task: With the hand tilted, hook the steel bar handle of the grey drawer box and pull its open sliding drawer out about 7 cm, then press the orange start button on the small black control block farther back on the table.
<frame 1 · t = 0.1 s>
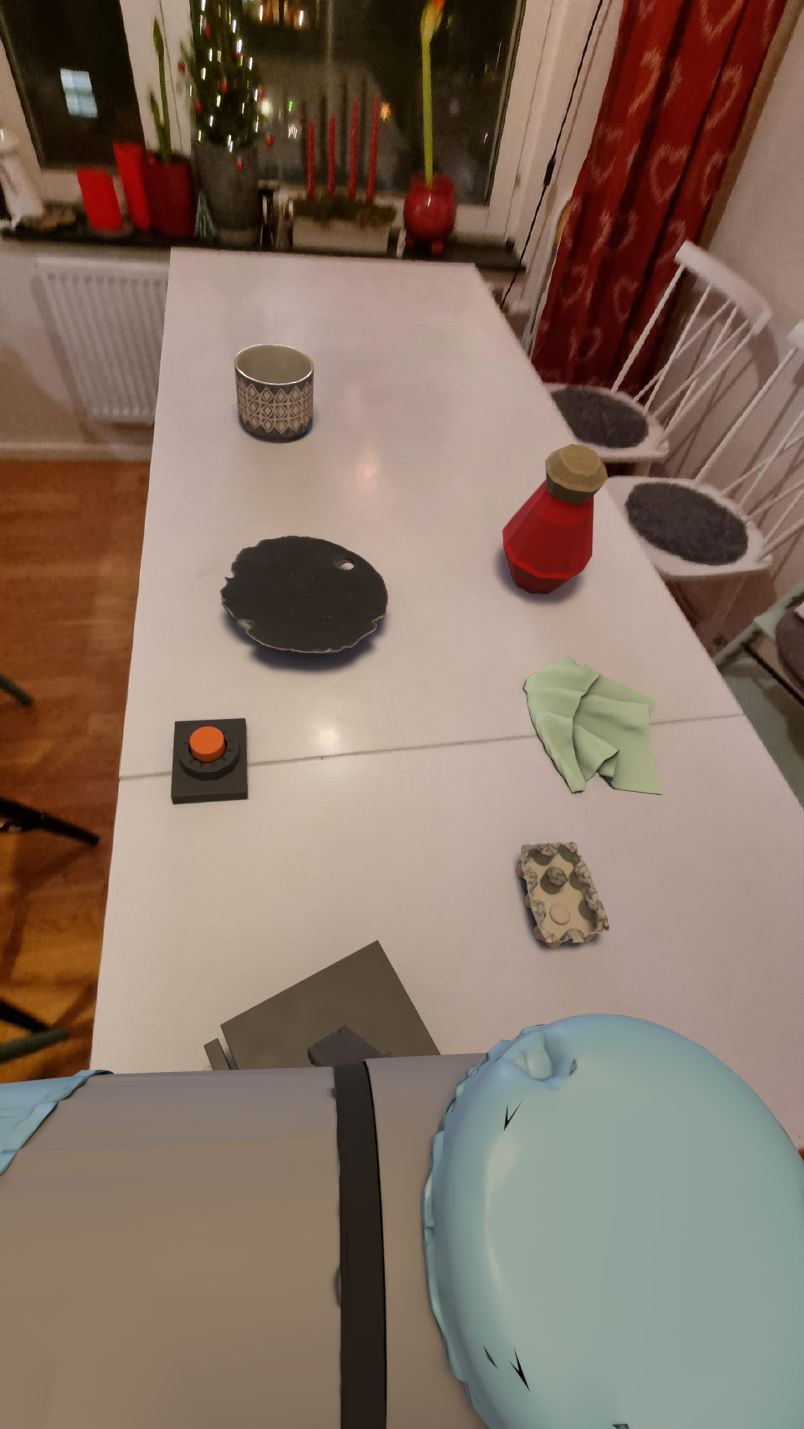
hand: (403, 1225, 41), 19 cm above the table, tool pointing down, fingers open, 13 cm apart
grey drawer box: (332, 1070, 63), on the table
egg carton: (552, 900, 75), on the table
planter: (276, 424, 121), on the table
bottle: (535, 574, 106), on the table
board: (305, 616, 95), on the table
cloth: (593, 731, 89), on the table
open sliding drawer: (275, 1096, 57), point 4 cm above the table, slide at 0.5 cm
control block: (211, 763, 80), on the table
start button: (207, 744, 76), point 4 cm above the table, slide at 0.1 cm
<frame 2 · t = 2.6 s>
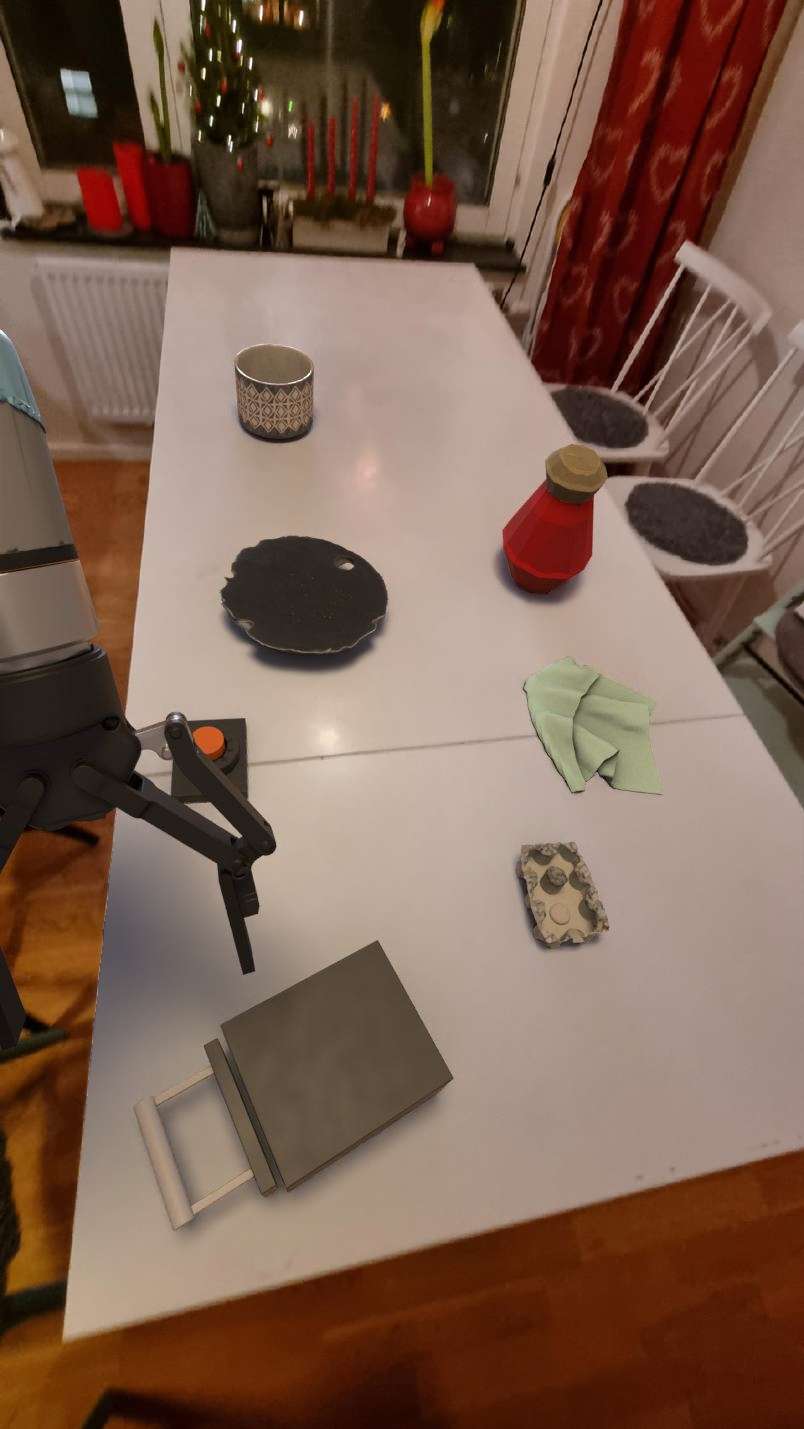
hand: (135, 995, 42), 24 cm above the table, tool tilted 40°, fingers open, 13 cm apart
nothing on the table moved.
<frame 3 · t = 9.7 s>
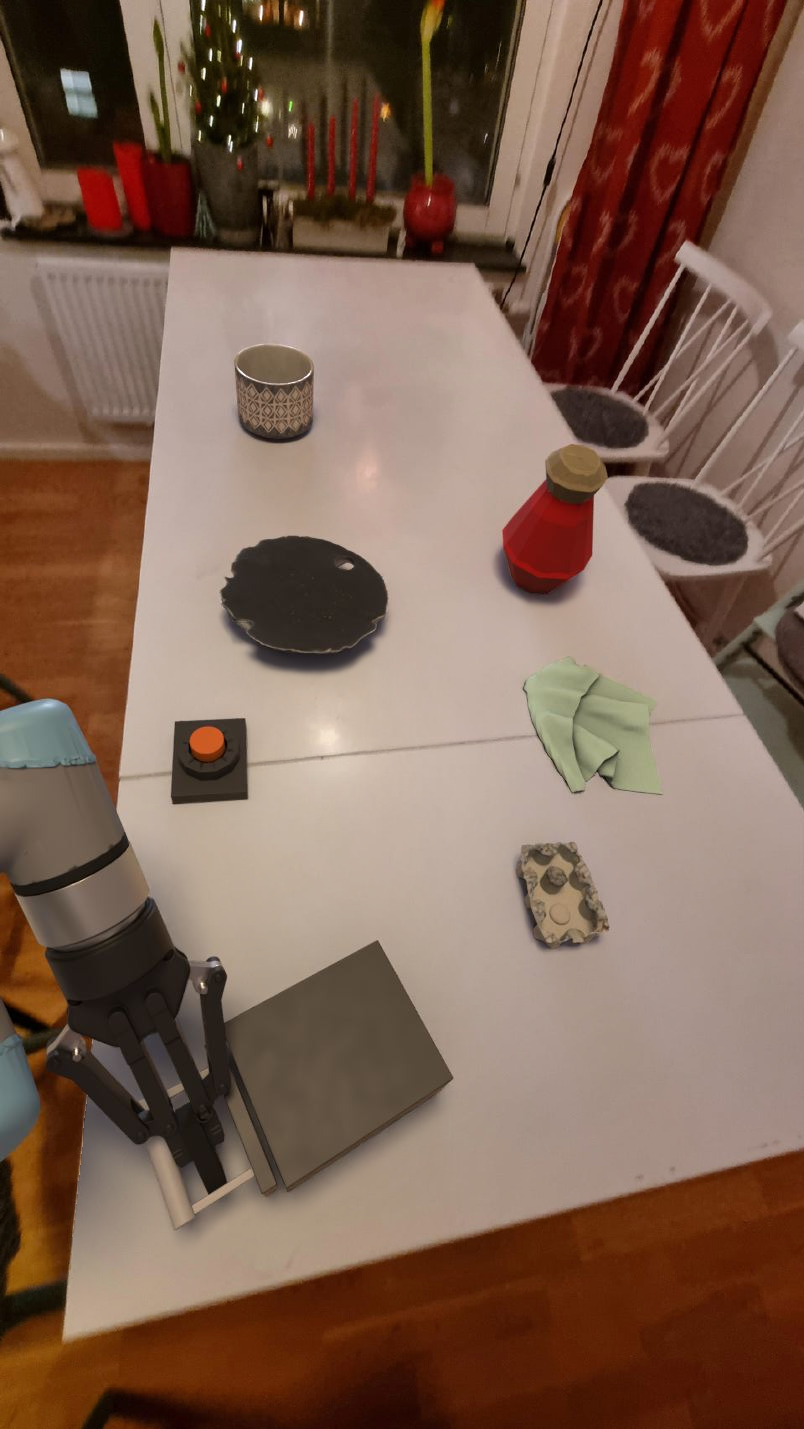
hand: (216, 1181, 53), 4 cm above the table, tool tilted 45°, fingers closed
open sliding drawer: (276, 1096, 57), point 4 cm above the table, slide at 0.4 cm, touching gripper
everything else where it was.
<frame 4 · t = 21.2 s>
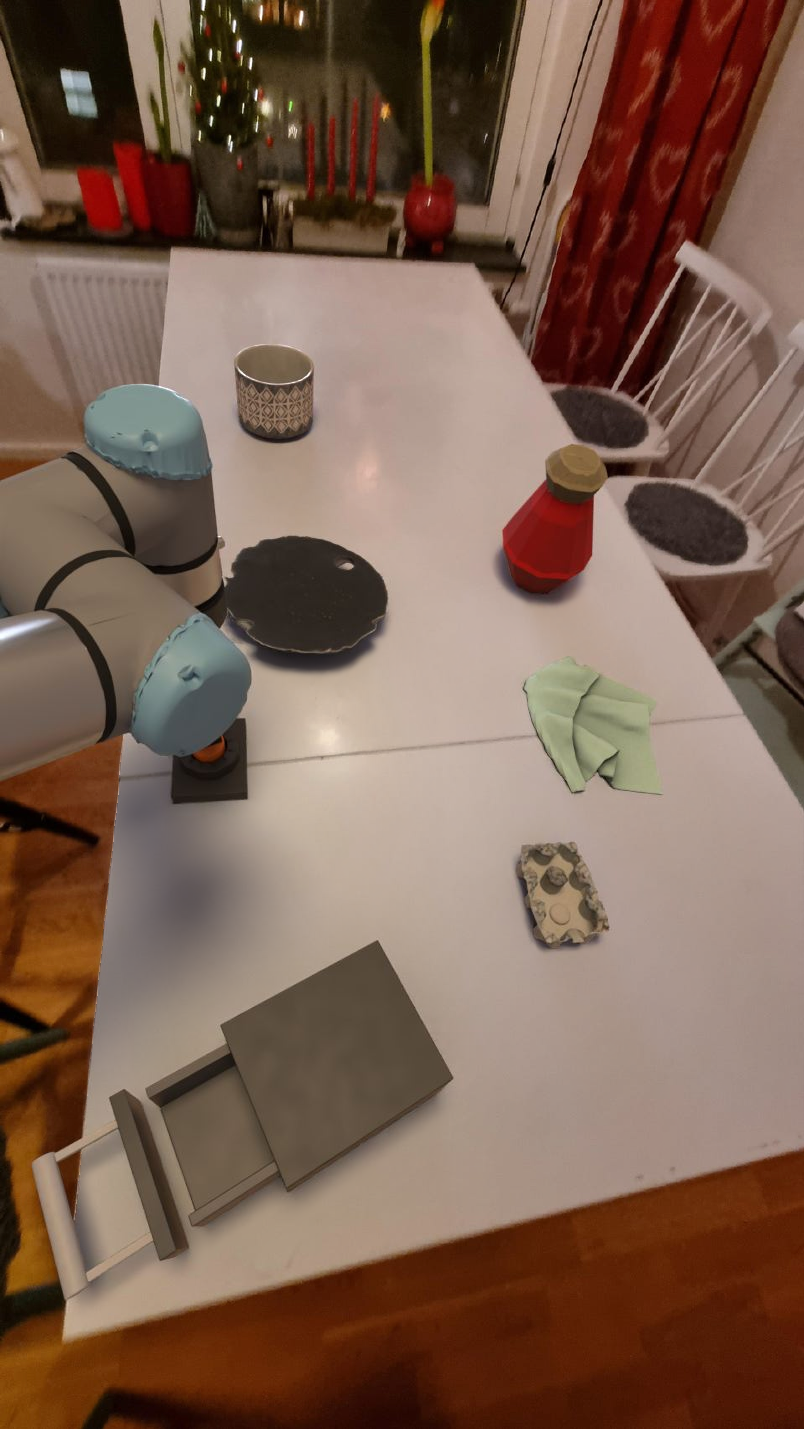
hand: (207, 741, 76), 5 cm above the table, tool pointing down, fingers closed
open sliding drawer: (187, 1149, 54), point 4 cm above the table, slide at 8.0 cm
start button: (208, 747, 77), point 3 cm above the table, slide at -0.5 cm, touching gripper
everything else where it was.
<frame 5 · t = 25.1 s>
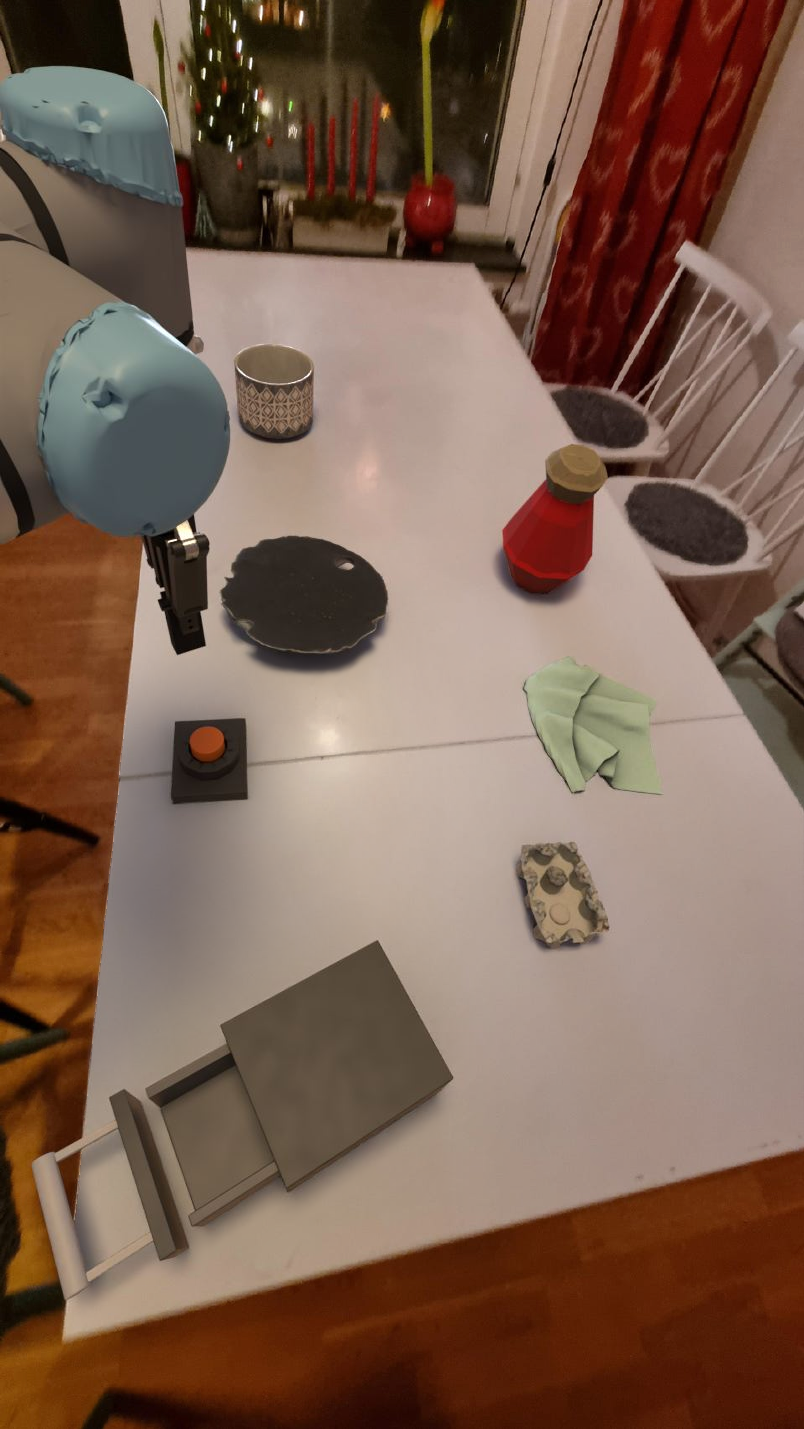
hand: (188, 644, 63), 20 cm above the table, tool pointing down, fingers closed
start button: (207, 744, 76), point 4 cm above the table, slide at 0.1 cm
everything else where it was.
at the end: open sliding drawer slide at 8.0 cm; start button pushed in 1.1 cm at the most during the clip, back to where it started at the end; start button slide at 0.1 cm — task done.
